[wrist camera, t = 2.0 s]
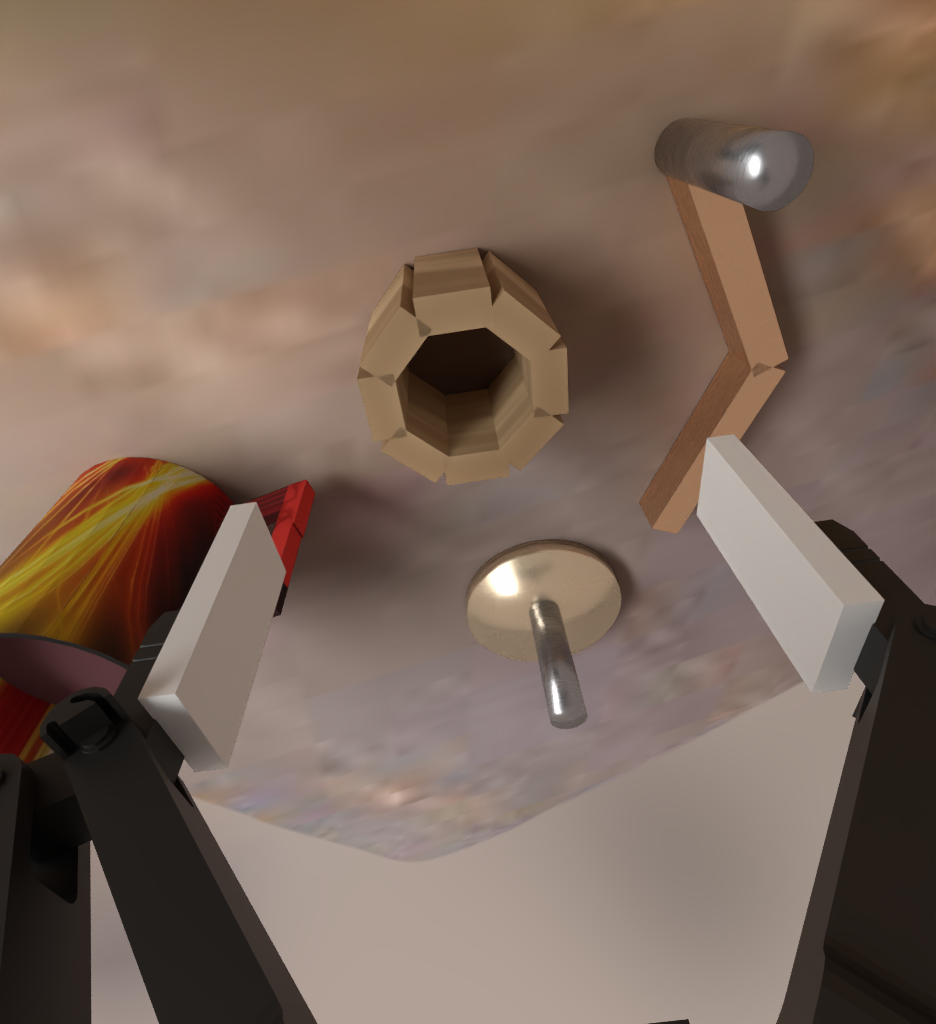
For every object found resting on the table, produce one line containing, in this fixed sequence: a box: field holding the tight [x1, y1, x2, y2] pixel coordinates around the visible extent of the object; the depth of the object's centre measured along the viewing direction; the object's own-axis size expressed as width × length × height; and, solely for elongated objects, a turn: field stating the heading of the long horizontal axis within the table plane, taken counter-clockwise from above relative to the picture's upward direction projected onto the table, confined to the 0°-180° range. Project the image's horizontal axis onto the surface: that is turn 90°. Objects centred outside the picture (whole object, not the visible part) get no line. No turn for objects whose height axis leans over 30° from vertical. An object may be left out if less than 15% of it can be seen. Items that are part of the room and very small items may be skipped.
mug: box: [0, 457, 315, 764], centre depth 27 cm, size 10×14×12 cm
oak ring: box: [357, 248, 569, 485], centre depth 25 cm, size 8×8×6 cm
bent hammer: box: [639, 119, 814, 534], centre depth 25 cm, size 19×6×8 cm, turn 7°
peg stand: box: [466, 540, 621, 729], centre depth 34 cm, size 10×10×9 cm
